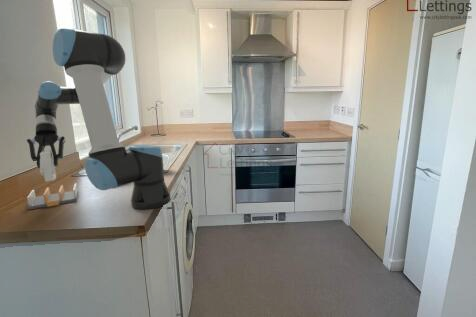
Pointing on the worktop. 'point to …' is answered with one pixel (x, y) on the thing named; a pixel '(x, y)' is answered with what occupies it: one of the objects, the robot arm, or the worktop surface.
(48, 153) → the panel
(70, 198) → the rack
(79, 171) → the worktop surface
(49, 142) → the robot arm
